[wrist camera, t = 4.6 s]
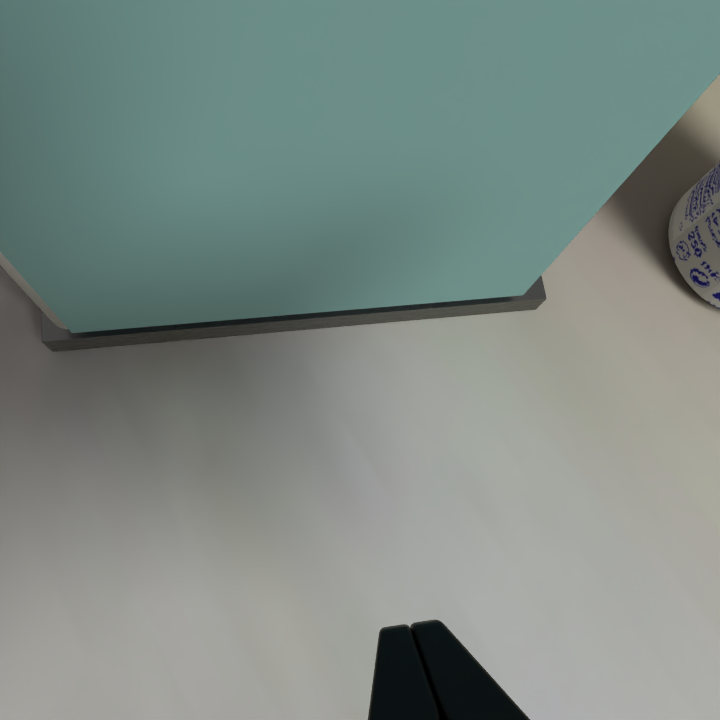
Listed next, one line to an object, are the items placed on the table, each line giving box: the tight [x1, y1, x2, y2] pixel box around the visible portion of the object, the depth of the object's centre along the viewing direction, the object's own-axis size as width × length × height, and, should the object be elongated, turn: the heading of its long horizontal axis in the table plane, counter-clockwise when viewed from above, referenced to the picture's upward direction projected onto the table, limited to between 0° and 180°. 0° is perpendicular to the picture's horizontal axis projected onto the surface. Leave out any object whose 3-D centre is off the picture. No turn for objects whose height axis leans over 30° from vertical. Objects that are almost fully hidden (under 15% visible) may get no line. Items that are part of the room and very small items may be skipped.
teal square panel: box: [0, 0, 720, 333], centre depth 15 cm, size 1×14×13 cm, turn 98°
